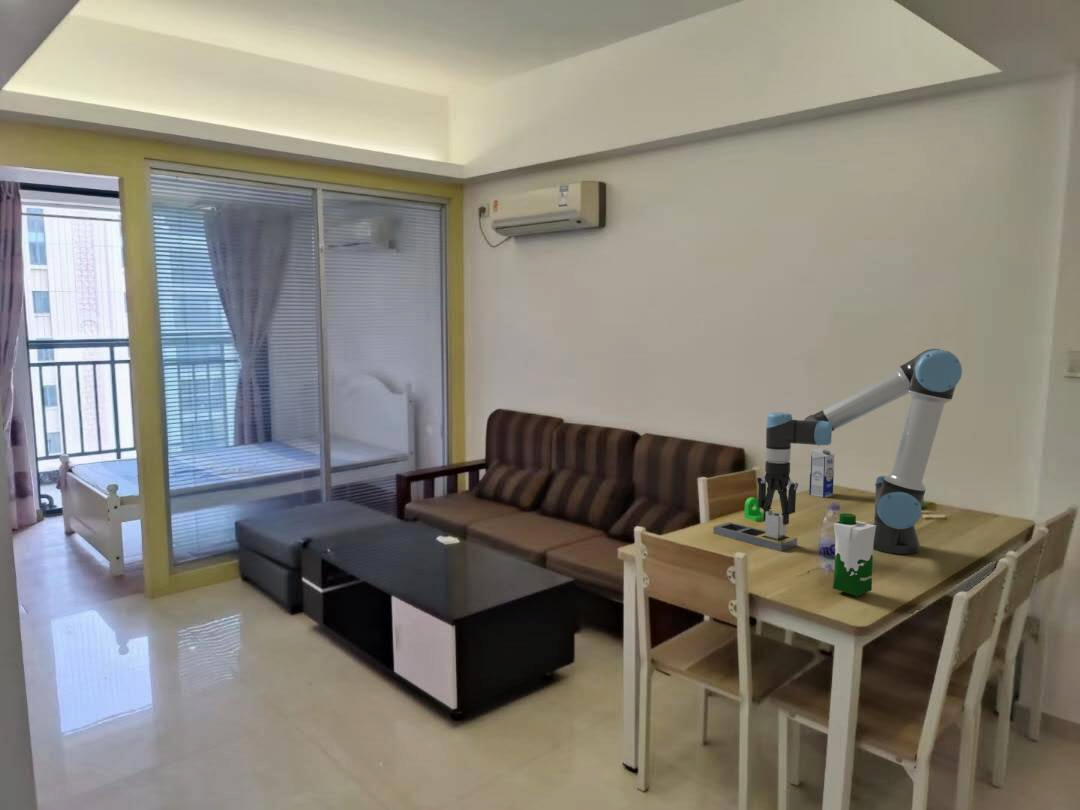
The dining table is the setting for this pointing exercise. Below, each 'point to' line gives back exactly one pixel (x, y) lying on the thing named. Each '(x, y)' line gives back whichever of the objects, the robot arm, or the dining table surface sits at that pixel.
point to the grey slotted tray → (753, 536)
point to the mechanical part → (753, 510)
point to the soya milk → (853, 555)
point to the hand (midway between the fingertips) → (775, 532)
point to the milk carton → (821, 473)
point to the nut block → (773, 527)
